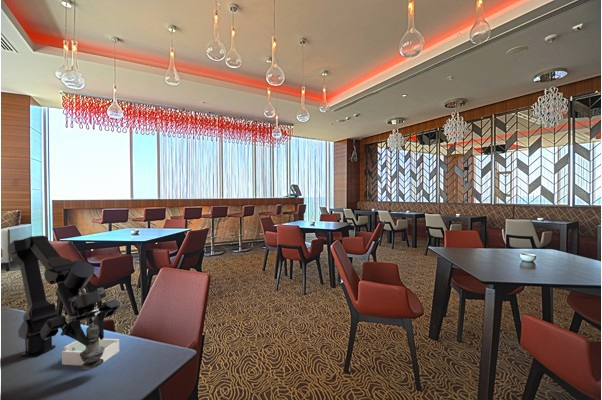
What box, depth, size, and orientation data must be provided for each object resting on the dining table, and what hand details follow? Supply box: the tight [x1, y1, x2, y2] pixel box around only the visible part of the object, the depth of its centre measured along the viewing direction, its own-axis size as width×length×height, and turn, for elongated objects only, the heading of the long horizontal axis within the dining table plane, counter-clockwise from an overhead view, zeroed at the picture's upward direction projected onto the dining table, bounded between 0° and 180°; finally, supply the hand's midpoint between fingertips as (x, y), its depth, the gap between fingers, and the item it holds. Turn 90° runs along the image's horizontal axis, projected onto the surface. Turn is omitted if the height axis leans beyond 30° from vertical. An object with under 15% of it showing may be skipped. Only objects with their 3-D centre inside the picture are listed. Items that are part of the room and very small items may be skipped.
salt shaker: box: [80, 321, 105, 370], centre depth 83 cm, size 6×6×12 cm
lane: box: [61, 338, 120, 366], centre depth 93 cm, size 12×9×5 cm
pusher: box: [72, 343, 86, 351], centre depth 93 cm, size 1×7×4 cm, turn 174°
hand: (95, 342), depth 82 cm, fingers closed on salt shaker, 4 cm apart
